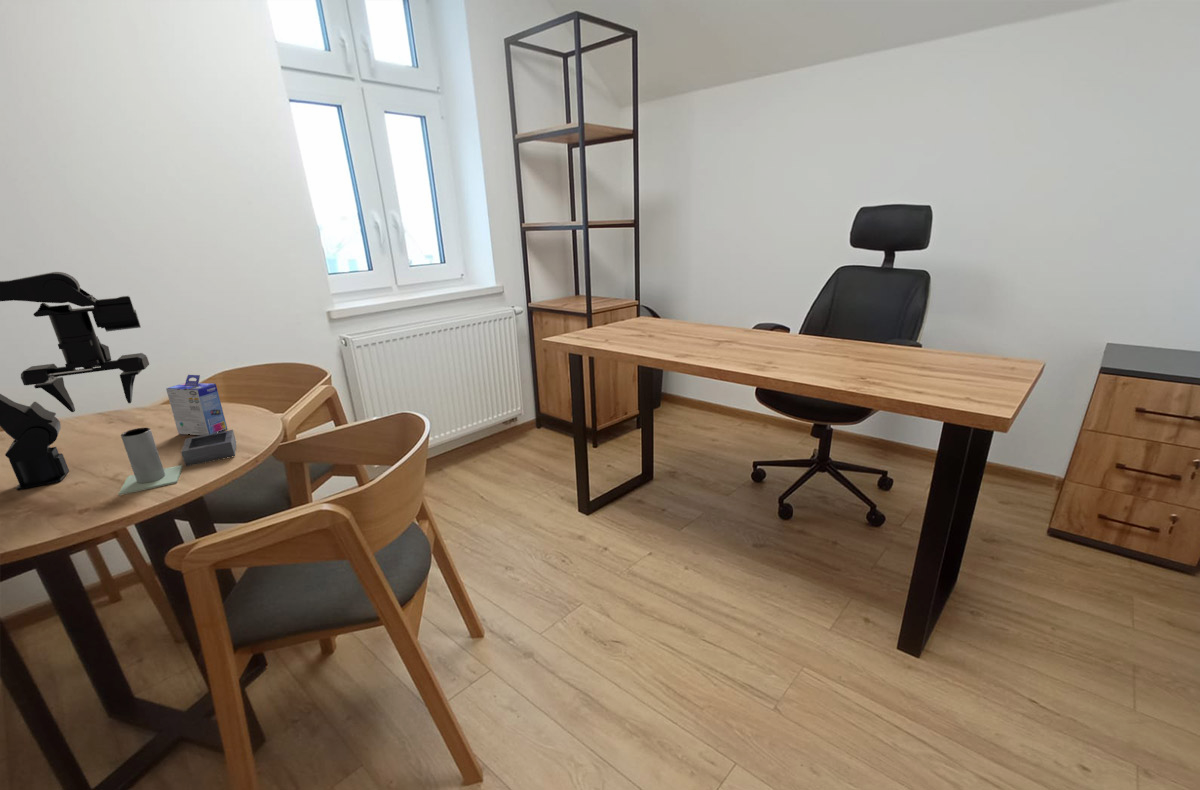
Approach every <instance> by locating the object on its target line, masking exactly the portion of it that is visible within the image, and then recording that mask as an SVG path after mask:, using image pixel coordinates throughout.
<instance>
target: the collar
mask: <svg viewBox="0 0 1200 790" xmlns="http://www.w3.org/2000/svg"><path fill="white" fill-rule="evenodd" d="M236 443H237V439H236V435H235V432H234V429H229V430H223V431H220V432H218V433H213V434H207V435H195V436H192V437H187V438H185V441H184V442H183V445H182V448H181V451H180V453H181V456H182V459H183V462H184V465H185V467H191V466H195V465H200V464H205V462H206V463H210V462H209V461H211V462H214V461H213V460H215V461H218V459H220V460H224V459H223V458H225V459H228V458H227V457H230V458H233V457H232V456H235V457H236V452H235V451H237V444H236Z"/></svg>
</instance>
